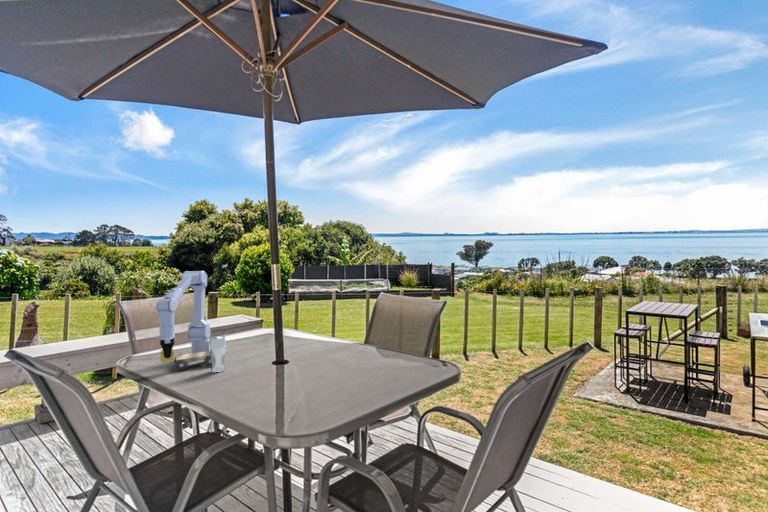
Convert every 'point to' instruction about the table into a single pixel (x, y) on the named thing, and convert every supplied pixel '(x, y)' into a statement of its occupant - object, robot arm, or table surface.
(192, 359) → the dolly
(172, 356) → the block
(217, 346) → the beer glass
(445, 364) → the table surface
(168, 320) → the robot arm
